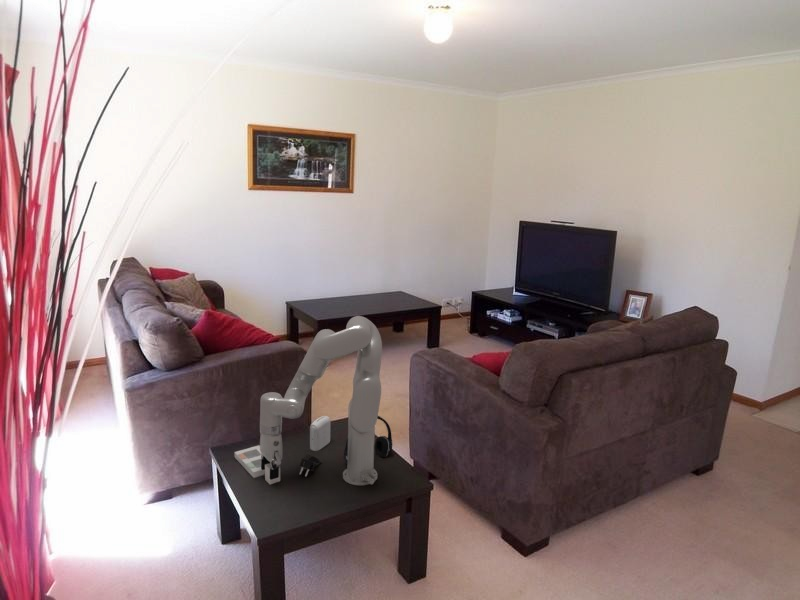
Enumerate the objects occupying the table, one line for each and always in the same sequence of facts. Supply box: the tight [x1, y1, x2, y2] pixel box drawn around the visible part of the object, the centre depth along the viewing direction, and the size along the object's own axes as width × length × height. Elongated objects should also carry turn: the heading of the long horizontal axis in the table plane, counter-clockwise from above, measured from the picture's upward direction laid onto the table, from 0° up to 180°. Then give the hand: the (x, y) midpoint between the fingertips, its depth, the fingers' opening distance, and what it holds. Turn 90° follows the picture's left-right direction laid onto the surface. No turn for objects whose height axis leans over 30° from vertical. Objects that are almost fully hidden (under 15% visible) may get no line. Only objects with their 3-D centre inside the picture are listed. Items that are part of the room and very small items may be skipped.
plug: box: [264, 462, 281, 485], centre depth 194 cm, size 4×4×7 cm
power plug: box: [297, 454, 323, 477], centre depth 201 cm, size 6×8×12 cm
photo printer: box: [309, 415, 332, 452], centre depth 219 cm, size 10×4×12 cm, turn 152°
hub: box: [234, 444, 276, 479], centre depth 205 cm, size 18×10×3 cm, turn 38°
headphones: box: [343, 415, 393, 464], centre depth 209 cm, size 20×7×18 cm, turn 126°
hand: (269, 473), depth 194 cm, fingers open, 6 cm apart
